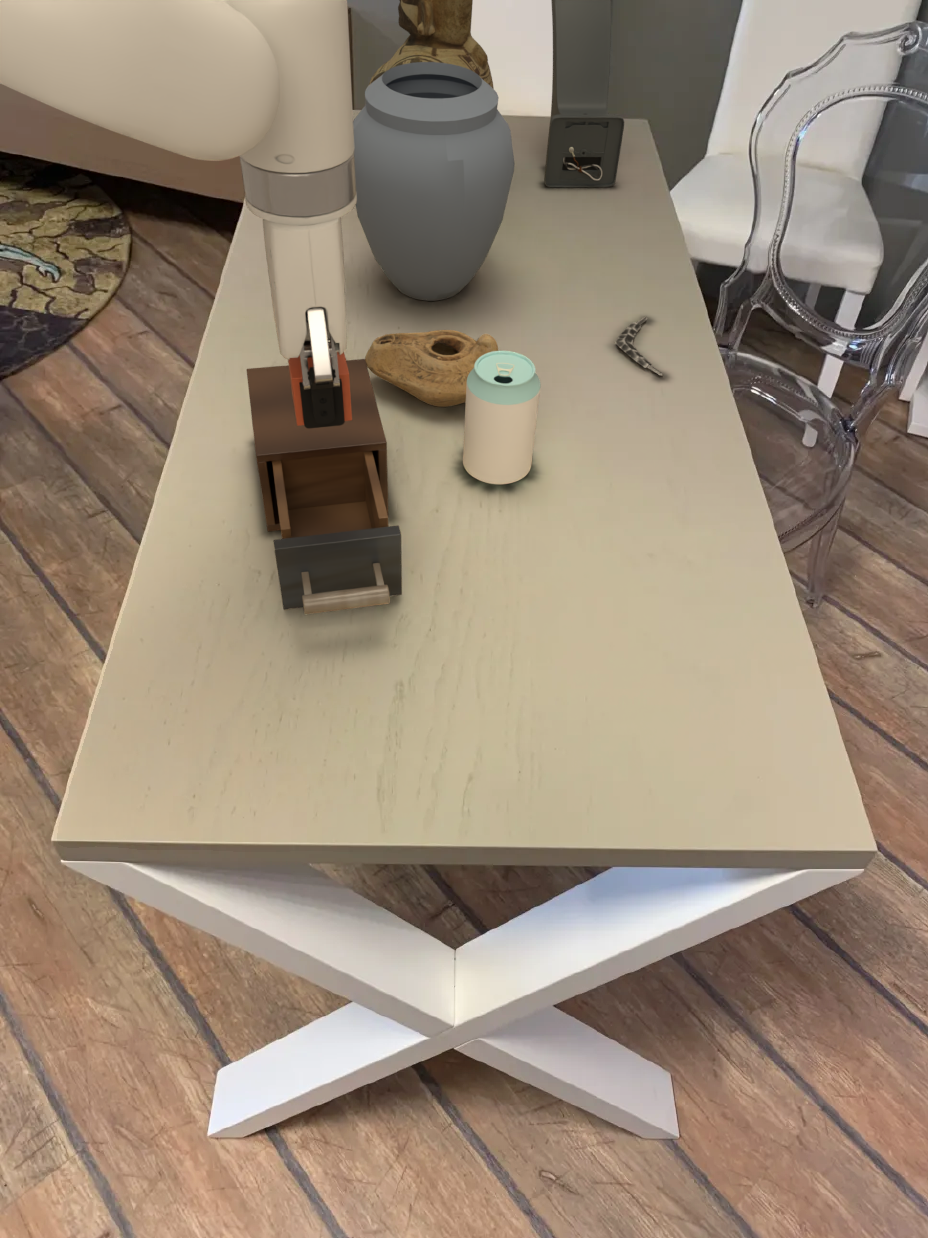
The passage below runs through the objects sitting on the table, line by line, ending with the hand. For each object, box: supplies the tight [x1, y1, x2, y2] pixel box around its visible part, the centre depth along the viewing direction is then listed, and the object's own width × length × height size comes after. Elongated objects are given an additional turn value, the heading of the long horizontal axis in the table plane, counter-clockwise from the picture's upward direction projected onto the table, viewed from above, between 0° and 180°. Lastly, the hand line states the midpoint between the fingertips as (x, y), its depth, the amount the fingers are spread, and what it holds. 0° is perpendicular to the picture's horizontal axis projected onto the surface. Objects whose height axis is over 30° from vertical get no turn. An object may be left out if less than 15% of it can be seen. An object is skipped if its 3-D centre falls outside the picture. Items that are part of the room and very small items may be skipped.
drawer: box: [272, 451, 403, 615], centre depth 82 cm, size 17×10×7 cm, turn 12°
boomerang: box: [614, 316, 664, 377], centre depth 113 cm, size 13×1×5 cm
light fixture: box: [543, 0, 625, 188], centre depth 139 cm, size 11×17×24 cm, turn 6°
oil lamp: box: [364, 329, 499, 408], centre depth 103 cm, size 11×15×8 cm
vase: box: [353, 62, 515, 302], centre depth 112 cm, size 20×20×24 cm
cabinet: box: [246, 358, 390, 532], centre depth 91 cm, size 14×12×9 cm
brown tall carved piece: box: [368, 0, 495, 90], centre depth 131 cm, size 19×21×30 cm
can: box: [462, 350, 542, 485], centre depth 93 cm, size 7×7×12 cm
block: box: [287, 351, 352, 426], centre depth 75 cm, size 4×4×4 cm
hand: (320, 403), depth 77 cm, fingers closed on block, 4 cm apart
